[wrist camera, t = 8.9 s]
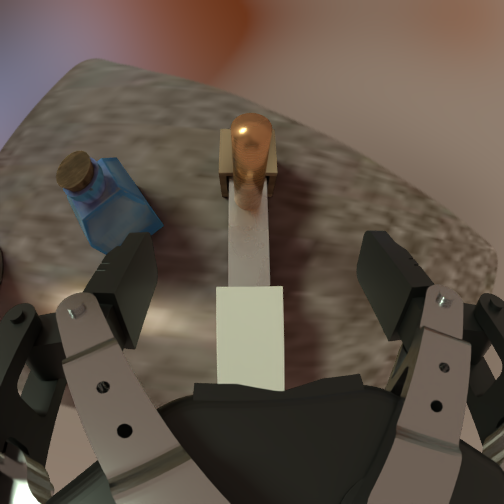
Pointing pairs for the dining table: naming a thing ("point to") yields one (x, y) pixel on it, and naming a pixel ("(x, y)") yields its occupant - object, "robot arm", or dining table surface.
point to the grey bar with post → (249, 203)
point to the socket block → (227, 163)
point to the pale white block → (250, 336)
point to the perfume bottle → (105, 200)
